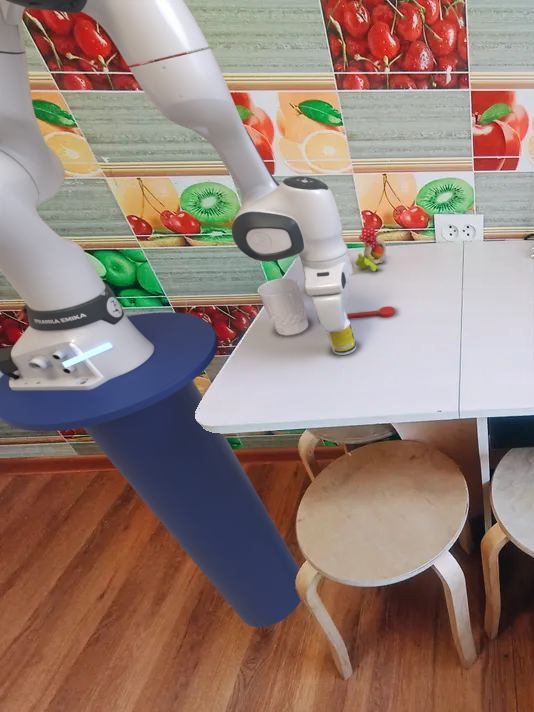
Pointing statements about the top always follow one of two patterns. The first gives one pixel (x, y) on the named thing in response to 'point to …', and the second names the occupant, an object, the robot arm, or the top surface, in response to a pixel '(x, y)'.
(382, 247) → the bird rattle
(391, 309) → the spoon
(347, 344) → the supplement bottle
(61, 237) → the robot arm
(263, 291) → the white cup
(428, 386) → the top surface
